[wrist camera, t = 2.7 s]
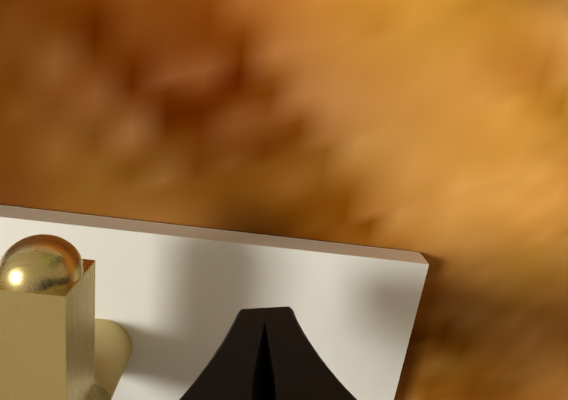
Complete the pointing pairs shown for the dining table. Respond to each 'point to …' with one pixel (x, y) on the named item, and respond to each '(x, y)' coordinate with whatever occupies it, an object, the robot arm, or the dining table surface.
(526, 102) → the dining table surface
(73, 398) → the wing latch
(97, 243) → the board
